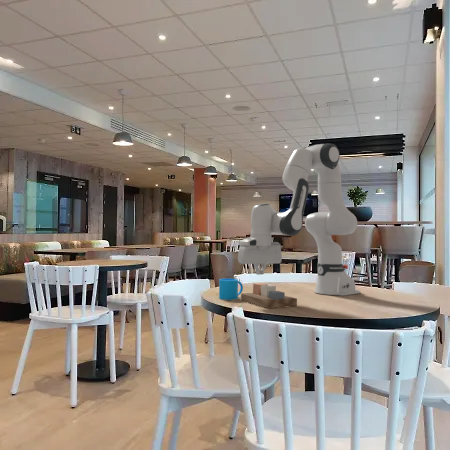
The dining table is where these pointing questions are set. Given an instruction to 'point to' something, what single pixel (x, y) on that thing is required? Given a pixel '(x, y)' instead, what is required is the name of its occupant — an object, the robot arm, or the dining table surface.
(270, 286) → the cream cube
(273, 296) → the blue-grey cube
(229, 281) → the mug
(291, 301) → the wooden pallet
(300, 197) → the robot arm
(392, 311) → the dining table surface
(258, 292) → the terracotta cube
